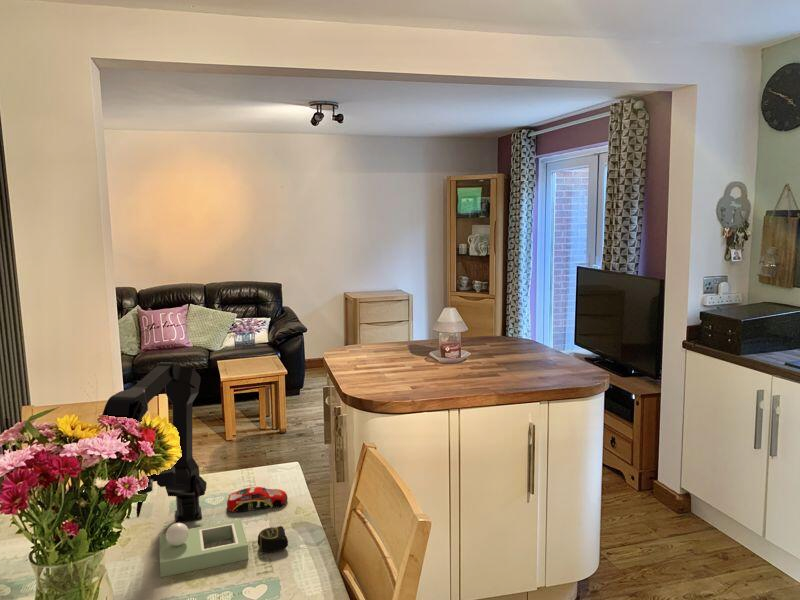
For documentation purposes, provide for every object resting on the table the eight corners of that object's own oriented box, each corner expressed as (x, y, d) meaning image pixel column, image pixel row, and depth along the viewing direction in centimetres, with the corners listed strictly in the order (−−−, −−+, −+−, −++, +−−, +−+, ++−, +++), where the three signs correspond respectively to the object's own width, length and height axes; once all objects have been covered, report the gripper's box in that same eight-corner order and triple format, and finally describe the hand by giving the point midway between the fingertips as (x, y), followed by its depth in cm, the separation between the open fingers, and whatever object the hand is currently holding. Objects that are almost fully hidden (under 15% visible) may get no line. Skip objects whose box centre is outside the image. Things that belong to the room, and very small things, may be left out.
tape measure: (288, 552, 143) (288, 537, 143) (259, 557, 141) (258, 542, 140) (285, 537, 149) (284, 523, 149) (256, 542, 147) (256, 528, 147)
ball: (166, 541, 141) (165, 521, 141) (189, 537, 143) (187, 517, 143) (166, 552, 137) (165, 531, 136) (190, 547, 139) (188, 527, 138)
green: (160, 548, 145) (159, 534, 145) (241, 532, 152) (240, 519, 151) (160, 577, 133) (159, 562, 133) (248, 559, 140) (247, 544, 139)
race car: (286, 497, 172) (286, 480, 171) (288, 507, 166) (288, 490, 165) (227, 504, 168) (226, 487, 167) (227, 515, 162) (226, 497, 161)
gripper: (76, 471, 123) (82, 543, 125) (174, 457, 130) (178, 525, 132) (83, 452, 133) (88, 519, 135) (173, 440, 140) (177, 503, 142)
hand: (133, 517), depth 136 cm, fingers closed
